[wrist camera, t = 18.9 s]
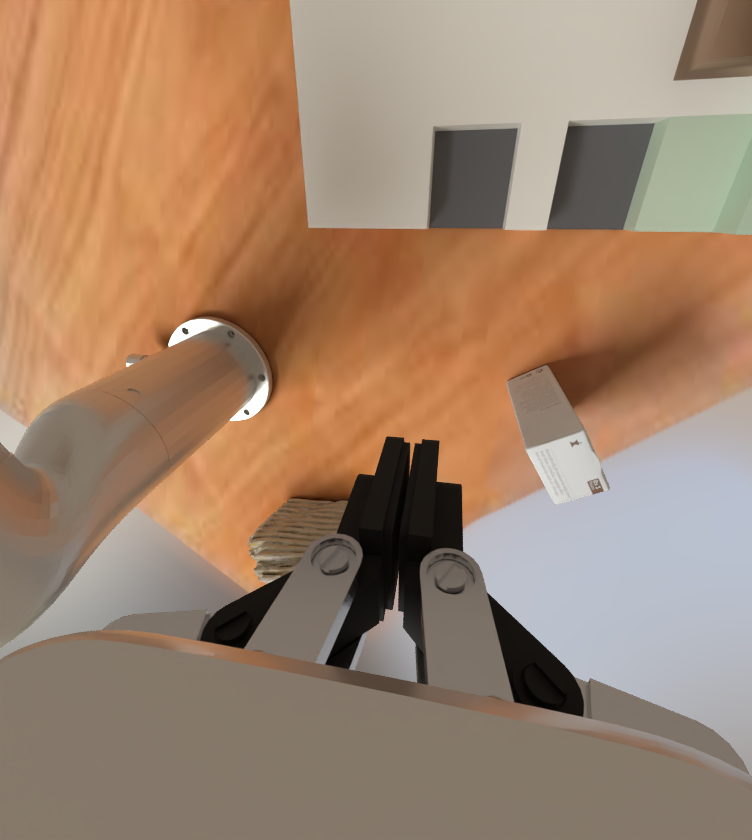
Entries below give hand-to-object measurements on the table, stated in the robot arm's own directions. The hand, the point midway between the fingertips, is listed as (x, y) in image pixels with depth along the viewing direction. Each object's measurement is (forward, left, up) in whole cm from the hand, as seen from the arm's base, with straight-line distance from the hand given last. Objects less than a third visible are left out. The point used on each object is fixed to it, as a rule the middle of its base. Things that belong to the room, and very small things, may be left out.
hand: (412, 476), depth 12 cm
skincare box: (+10, -9, -27) cm, 30 cm away
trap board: (+3, +13, -26) cm, 30 cm away
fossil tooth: (-15, -30, -27) cm, 43 cm away
